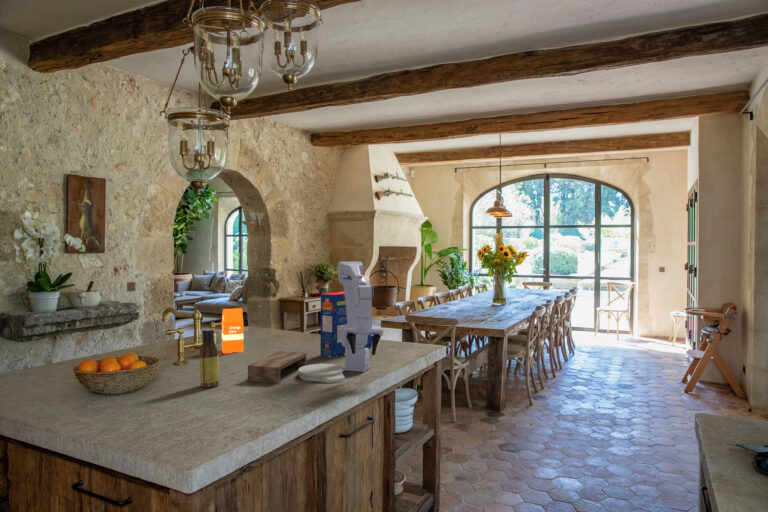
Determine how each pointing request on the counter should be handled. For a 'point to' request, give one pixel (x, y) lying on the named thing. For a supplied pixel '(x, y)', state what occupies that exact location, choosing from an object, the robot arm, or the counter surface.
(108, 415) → the counter surface
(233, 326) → the orange juice
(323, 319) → the pasta box
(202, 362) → the sauce bottle
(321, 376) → the lid
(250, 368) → the brown slab
